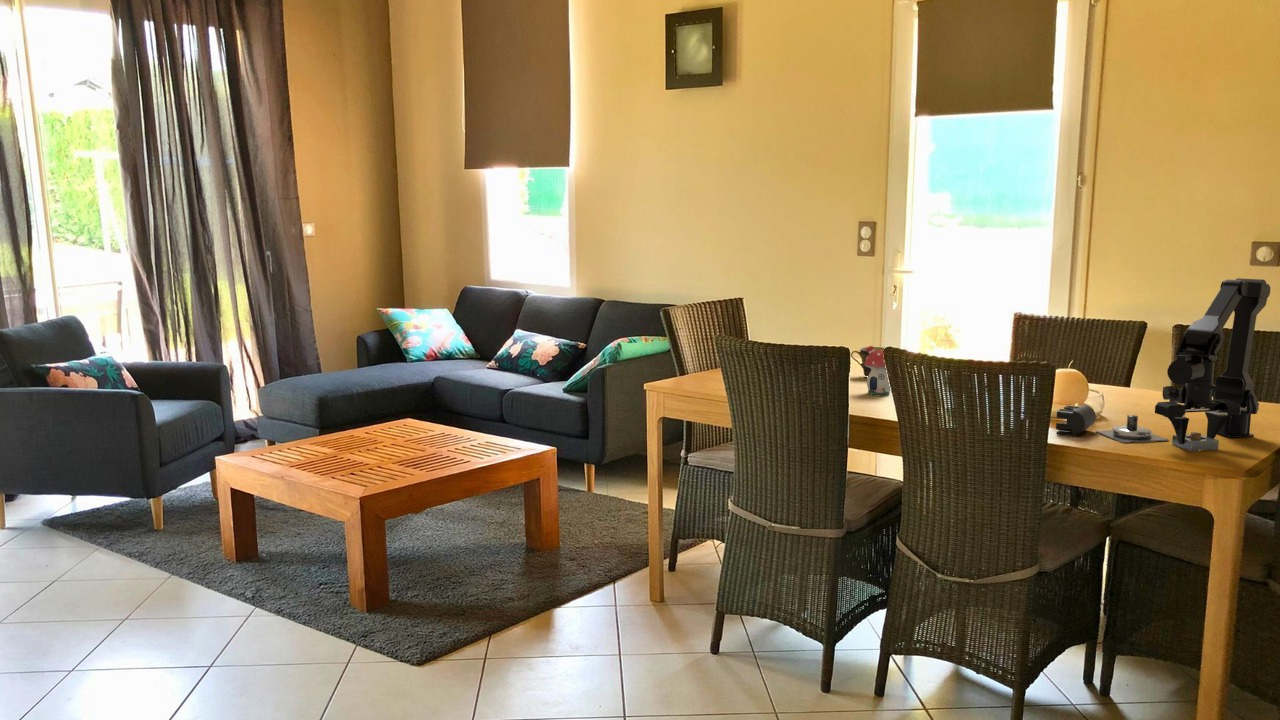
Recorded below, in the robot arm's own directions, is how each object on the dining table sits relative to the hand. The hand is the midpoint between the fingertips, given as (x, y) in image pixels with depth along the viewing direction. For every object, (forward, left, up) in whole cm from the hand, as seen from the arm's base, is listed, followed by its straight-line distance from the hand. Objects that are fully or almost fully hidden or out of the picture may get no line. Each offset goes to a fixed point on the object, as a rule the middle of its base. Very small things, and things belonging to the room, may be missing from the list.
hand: (1195, 443), depth 245 cm
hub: (+8, -13, -1) cm, 15 cm away
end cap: (+19, -20, -1) cm, 28 cm away
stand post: (0, 0, -1) cm, 1 cm away
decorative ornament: (+49, -81, -1) cm, 95 cm away
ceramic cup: (+41, -110, -1) cm, 117 cm away
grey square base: (0, 0, -1) cm, 1 cm away
